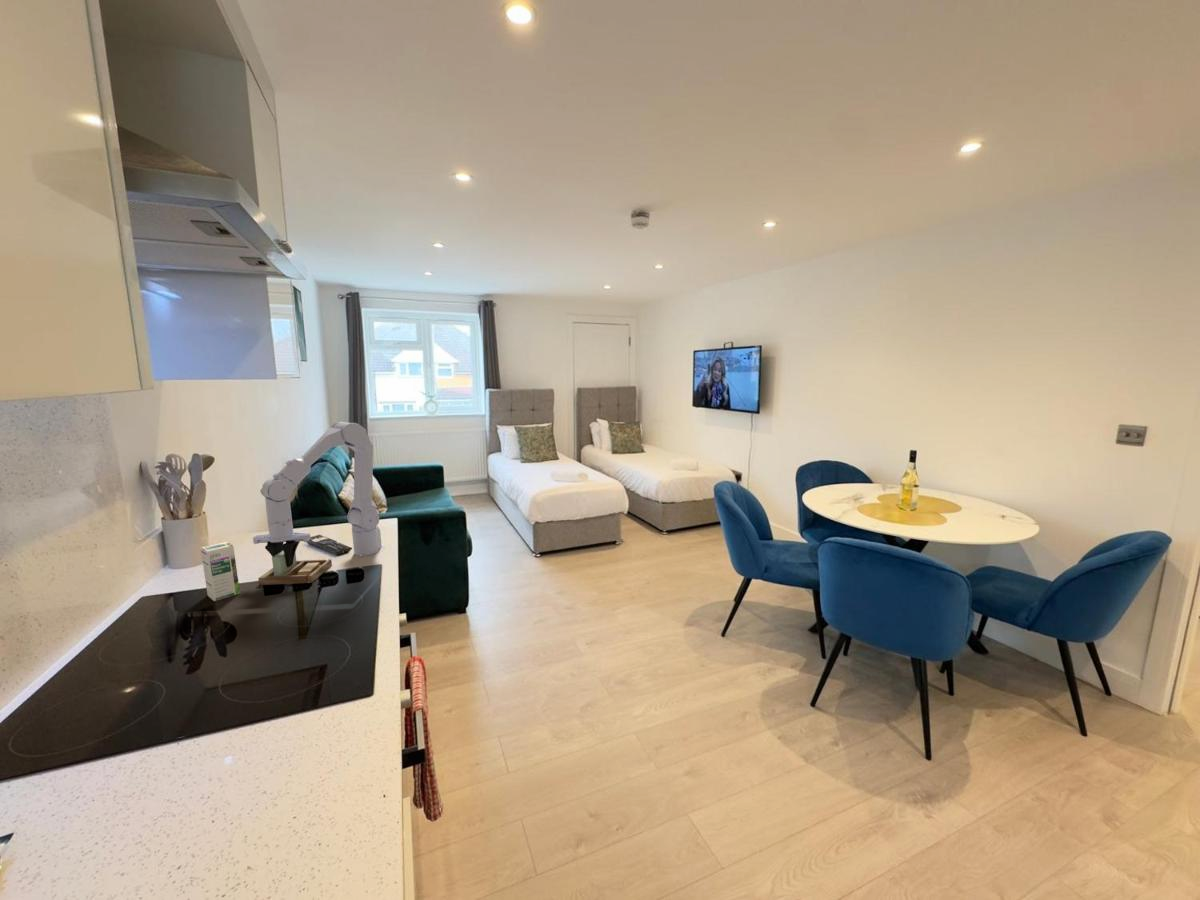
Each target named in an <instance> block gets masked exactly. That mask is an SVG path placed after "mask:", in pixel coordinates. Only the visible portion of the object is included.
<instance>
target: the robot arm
mask: <svg viewBox="0 0 1200 900" xmlns="http://www.w3.org/2000/svg"><path fill="white" fill-rule="evenodd" d="M344 445H346V446H347V447H348V448H350V449H351V450H352V451H353V452H354V455H353V457H354V461H353V467H354V469H353V472H354V473H353V500H352V501H351V502H350V505H349V506H350V507H349V511H348V513H347V517H346V518H347V521H348V523H349V524H350V525H351V534H352V545H353V554H354V555H355V556H357V557H358V556H359V557H363V556H364V557H365V556H370V555H374V554H376V553H377V552H379V549H385V546H384V545H383V546H382V537H381V535H382V533H381V529H380V528H379V523H380V515H379V513H378V511H377V510H378V507H377V505H376V503H375V502H374V500H373V484H374V483H373V476H374V475H373V473H374V471H373V470H374V469H373V468H374V459H373V458H374V445H373V442H372V441H371V440H370V437H369V436H368V434H367V429H366V428H364V427H363V426H362V425H360V424H359V423H357V422H345V421H337V422H334V423H333V424H332V426H331V427H329V428H327V429H326V430H325V431H324V433H323V434H322V435H321V436H320V437H319V438H318V439H317V440H316V442H315V443H314V444H313V445H312V446H310V447H309V449H308V450H307V451H306V452H305V453H304V454H303V455H302V456H301V457H298V458H297V457H296V458H293V459H291V460H287V461H286V462H285V465H284V467H283V468H282V469H281V470H280V471H278V472H277V473H274V474H273V475H272V478H270V479H268V480H266V481H264V482H263V484H262V487H261V489H260V494H261V495H262V496H263V497H264V498H265V499H264V500H265V511H266V518H267V527H268V534H259V535H258V534H257V535H255V536H253V537H252V541H253V545H257V544H264V543H265V544H266V545H265V546H264V549H265V550H266V551H267V552H268V553H269V554H270V556H271V558H272V557H274V556H275V555H277V554H278V553H280V552H282V551H284V554H285V560H286V565H287V567H290V566H291V565H293V560H294V555H295V553H296V551H297V548H298V547H299V544H300V542H303V543H307V542H309V541H310V540H311V533H307V532H306V533H305V532H296V531H294V525H293V518H292V510H291V501H290V497H291V496H292V495H293V489H294V488H295V487H296V486H297V485H298V484H300V482H301V481H303V480H304V479H305V478H306V476H307V475H309V474H310V473H311V471H312V469H311V467H312V465H313V464H314V463H315V462H317V461H318V460H319V459H320V458H321V457H322V456H323V455H325V454H326V453H327V452H328V451H329V450H330V449H332V448H333V447H338V446H344Z"/></svg>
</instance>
